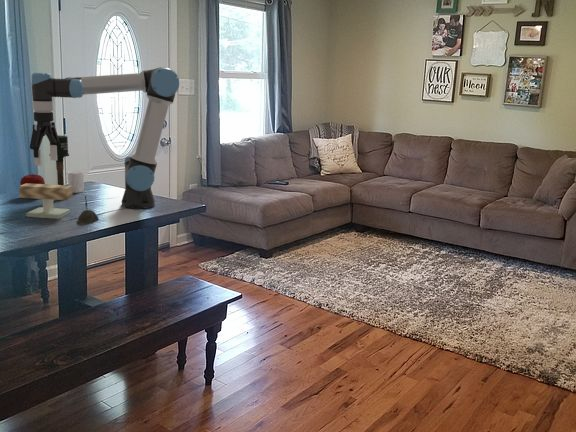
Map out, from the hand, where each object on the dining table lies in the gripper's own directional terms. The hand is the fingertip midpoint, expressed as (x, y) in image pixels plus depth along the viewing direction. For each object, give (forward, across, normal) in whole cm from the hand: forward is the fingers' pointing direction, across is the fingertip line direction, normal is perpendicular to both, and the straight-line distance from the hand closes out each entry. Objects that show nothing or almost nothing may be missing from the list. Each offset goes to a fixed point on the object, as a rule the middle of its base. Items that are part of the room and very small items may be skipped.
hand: (46, 162), depth 249 cm
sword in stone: (+23, +5, +19) cm, 30 cm away
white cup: (+23, -47, -10) cm, 53 cm away
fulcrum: (+22, 0, 0) cm, 22 cm away
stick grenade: (+23, -28, -8) cm, 37 cm away
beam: (+15, 0, -1) cm, 15 cm away
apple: (+22, -28, -22) cm, 42 cm away
